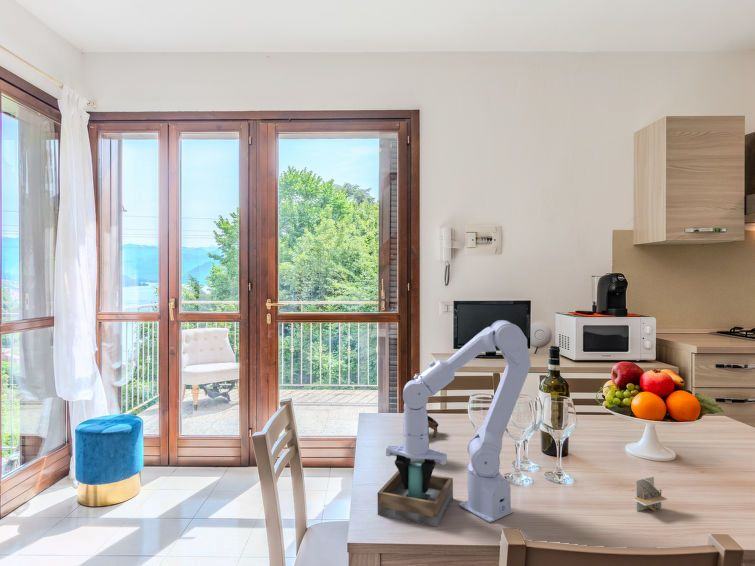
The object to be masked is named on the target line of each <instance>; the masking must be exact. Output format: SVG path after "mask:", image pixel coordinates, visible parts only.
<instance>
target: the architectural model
mask: <svg viewBox="0 0 755 566" xmlns="http://www.w3.org/2000/svg"><path fill="white" fill-rule="evenodd" d="M633 500H634V501H635V509H636V510H635V511H636V512H640V511H642V510H647V509H650V510H652V511H653V512H656V509H657V510H660V511H662V502H666V501H668V498H667V497H665V496H662V489H661V488H660V489H657V488H656V487H655V476H649V477H644V478H640V479H636V480H635V497H633Z"/></svg>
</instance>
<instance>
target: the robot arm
mask: <svg viewBox="0 0 755 566" xmlns="http://www.w3.org/2000/svg"><path fill="white" fill-rule="evenodd" d="M496 347H497V348H498V349H499V350H500V353H501V354H502V357H503V358H504V360H505V363H506V366H505V367H504V371H503V374H502V376H501V378H500V381H499V383H498V385H497V389H496V391H495V394H494V395H493V398H492V400H491V402H490V403H491V404H490V406H489V408H488V411H487V413H486V416H485V419H484V421H483V422H482V425H481V426H480V427H479V428H478V429H477V432H476V434H475V435H474V436H473V437H472V438H471V439H470V440H469V442H468V444H467V452H468V455H469V457H470V461H469V462H470V463H469V464H468V465H467V500H466V501H463V502H461V503H459V507H461V508H463V509H465V510H466V511H469V512H470V513H472V514H474V515H475V516H477V517H479V518H481V519H483V520H484V521H486V522H489V523H493V522H495V521H496V520H499V519H501V518H503V517H506V516H508V515H510V514H512V513H513V512H514V509H512V507H511V505H512V504H511V502H512V501H511V491H512V490H511V484H510V481H509V480H508V479H507V478H505V477H504V476H503V475H502V474H501V472H500V465H501V462H500V461H501V459H500V455H501V453H502V449H503V436H504V434H505V432H506V428H507V427H508V424H509V421H510V419H511V417H512V414H513V411H514V409H515V407H516V404H517V402H518V399H519V396H520V395H521V392H522V390H523V386H524V384H525V382H526V379H527V376H528V374H529V371H530V369H531V365H532V363H531V359H530V353H529V347H528V338H527V337H526V336H525V334H524V331H522V329H521V328H520V327H519V326H518V325H516V324H514V323H512V322H511V321H509V320H505V319H502V320H501V319H499V320H496V321H494V322H493V323H492V324H491V325H490V326H486V327H485V328H484V329H482V330H481V331H480V332H478V333H477V334H476V335H475V336H473V338H471V339H470V340H469V341H468V342H466V343H465V344H464V345H463V346H462V347H461V348H459V349H458V350H457V351H456V352H454V353H453V354H452V355H451V356H450V357H449V358H448V359H446V360H443V359H438V360H436V361H434V360H432V361H431V362H429V366H428V367H427V368H426V369H425V370H424V371H423V372H421V373H420V374H415V375H414V376H413V379H411V380H409V381H408V382H406V384H405V385H404V387H403V391H402V399H403V402H404V404H403V410H404V411H403V414H402V416H403V418H402V419H403V422H404V431H403V445H387V447H386V448H385V456H386V457H391V456H393V457H396V458H395V460H394V465H395V467H396V469H397V471H398V470H399V472H400V475H401V478H402V481H403V485H404V489H406V490H407V489H408V465H409V464H411V463H410V461H411V459H418V460H424V462H423V463H421V464H422V465H421V469H422V476H423V493H426V492H427V491H428V488H429V482H430V478H431V475H433V472H434V469H435V467H436V466H437V463H439V464H440V465H446V464H447V462H448V454H447V453H445V452H440V451H437V450H434V449H431V448H429V449H428V416H429V415H428V412H427V404H428V402H429V398H430V397H433V396H435V395H436V394H437V393H439V391H441V390H442V389H444V388H445V387H446V386H447V385H449V384H450V383H451V382H453V381H454V380H455V373H456V372H457V371H458V370H460V369H461V368H462V367H463V366H464V367H465V365H466V364H468V363H470V361H472V360H473V359H475V358H476V357H477V356H479V355H481V354H482V353H487V352H497V349H496Z"/></svg>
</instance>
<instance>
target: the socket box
mask: <svg viewBox="0 0 755 566" xmlns="http://www.w3.org/2000/svg"><path fill="white" fill-rule="evenodd" d="M453 479H454V478H453V477H448V476H441V475H436V474H432V475H431V478H430V482H429V488H428V491H427V492H426V493H425V500H423V499H418V498H413V497H408V489H407V490H406V489H404V485H403V481H402V478H401V475H400V472H399V470H398V469H397V471H396V472H395V473H394V474H393V475H392V477H390V479H388V481H387V482H386V483H385V484H384V485H383V486H382V487H381V488H380V490H378V492H377V495H376V496H377V515H378V516H384V517H388V518H391V519H392V518H393V519H398V520H403V521H407V522H412V523H417V524H422V525H427V526H431V527H436V528H437V527H438V525H439V524H440V522H441V520H442V519H443V517H444V515H445V514H446V512H447V510H448V508H449V506H450V504H451V503H452V501H453V499H454V480H453Z"/></svg>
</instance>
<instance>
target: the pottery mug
mask: <svg viewBox="0 0 755 566" xmlns="http://www.w3.org/2000/svg"><path fill="white" fill-rule="evenodd" d="M428 424H429V428H431V430H433V434H432V437H433V438H436V436H437V434H438V427H439V423H438V422H437V421H436V420H435V419H434V418H432V417H431V415H430V416H429V415H428Z"/></svg>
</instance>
